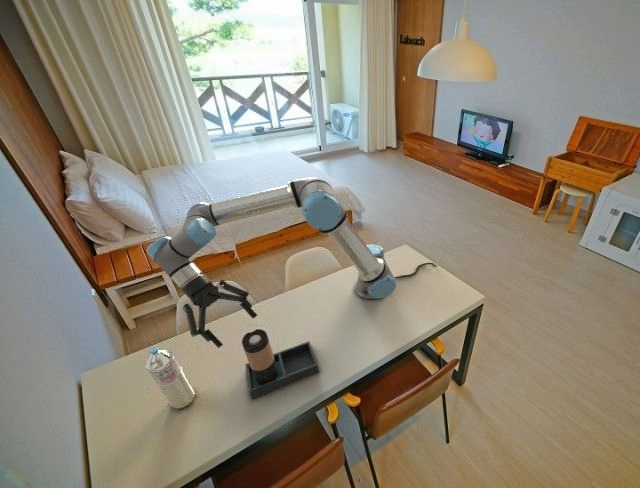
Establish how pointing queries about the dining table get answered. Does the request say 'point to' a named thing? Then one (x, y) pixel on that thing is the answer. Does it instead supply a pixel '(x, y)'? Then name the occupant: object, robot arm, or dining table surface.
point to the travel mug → (260, 356)
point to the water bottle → (170, 378)
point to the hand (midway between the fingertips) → (238, 331)
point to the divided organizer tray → (286, 369)
